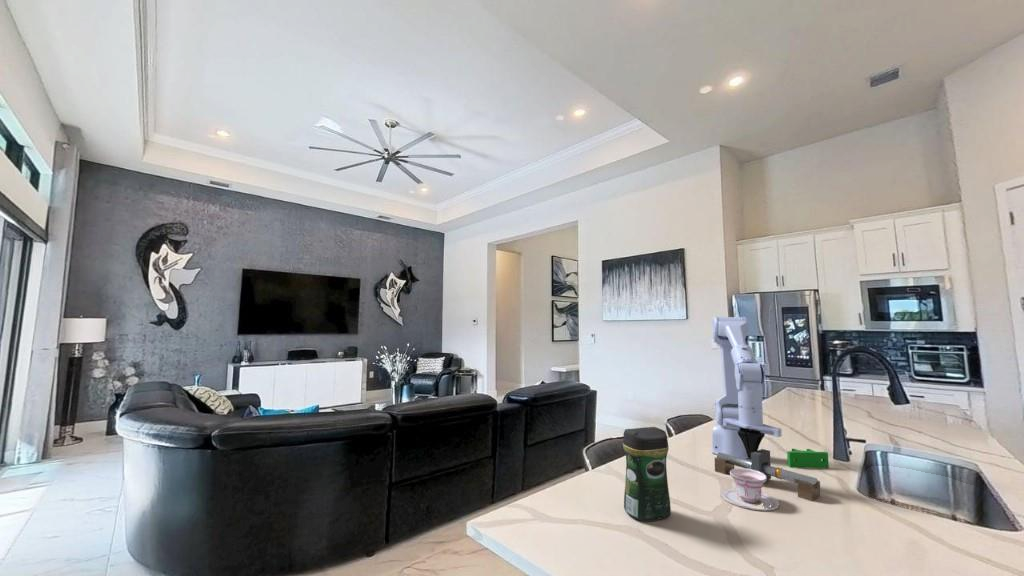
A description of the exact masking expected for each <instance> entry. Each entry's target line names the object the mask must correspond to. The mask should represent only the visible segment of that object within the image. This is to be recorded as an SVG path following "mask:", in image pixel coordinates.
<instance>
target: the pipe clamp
mask: <svg viewBox="0 0 1024 576" xmlns="http://www.w3.org/2000/svg"><path fill="white" fill-rule="evenodd" d="M786 455H787V458H786V459H787V467H789V468H795V467H797V469H798V468H799V469H800V468H801V469H806V468H807V469H829V468H830V466H829V453H828V452H827V451H815V450H812V449H810V448H806V450H802V449H801V450H800V449H796V448H791V450H787V453H786Z"/></svg>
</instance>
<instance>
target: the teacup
mask: <svg viewBox="0 0 1024 576" xmlns="http://www.w3.org/2000/svg"><path fill="white" fill-rule="evenodd" d="M729 474H730V476H731V477H732V479H733V482H734V483H735V487H734V488H733V487H732V488H727V489H724V490H723V491H721V497H722V498H723V499H724V500H725V501H726V502H728V503H729V504H731V505H734V506H737V507H739V508H743V509H747V510H753V511H760V512H769V511H775V510H778V509H779V507H780V503H779V501H778V500H777V499H776V498H774V497H772V496H770V495H769V494H766V493H763V492H762V488H763V487H764V486H765V485H764V483H766V482H767V481H768V480H767V477H766V475H765V474H763V473H761V472H759V471H756V470H752V469H747V468H742V467H737V468H736V467H734V469H732V470H730V473H729ZM766 480H767V481H766ZM739 498H740V499H741V500H740V499H739ZM758 500H759V502H760V504H761V503H763V506H764V509H756V508H751V507H752V505H753V506H757V505H758V504H759V503H757V502H758ZM770 505H771V507H769V506H770ZM763 506H762V507H763ZM766 508H767V509H766Z"/></svg>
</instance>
